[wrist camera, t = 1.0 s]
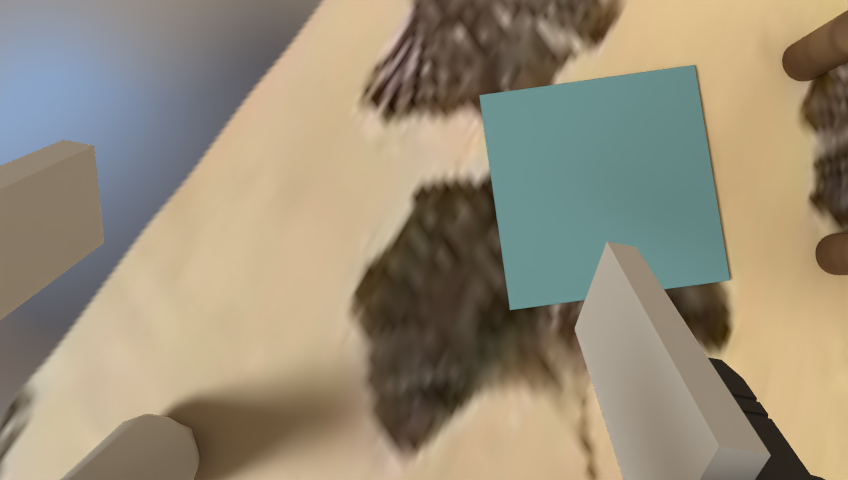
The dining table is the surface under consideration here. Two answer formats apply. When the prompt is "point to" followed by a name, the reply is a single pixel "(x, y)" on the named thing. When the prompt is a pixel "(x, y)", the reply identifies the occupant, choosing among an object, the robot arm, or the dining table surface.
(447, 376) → the dining table surface
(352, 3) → the dining table surface
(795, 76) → the outer post
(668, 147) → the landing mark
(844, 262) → the inner post
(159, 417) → the salt shaker
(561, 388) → the dining table surface
